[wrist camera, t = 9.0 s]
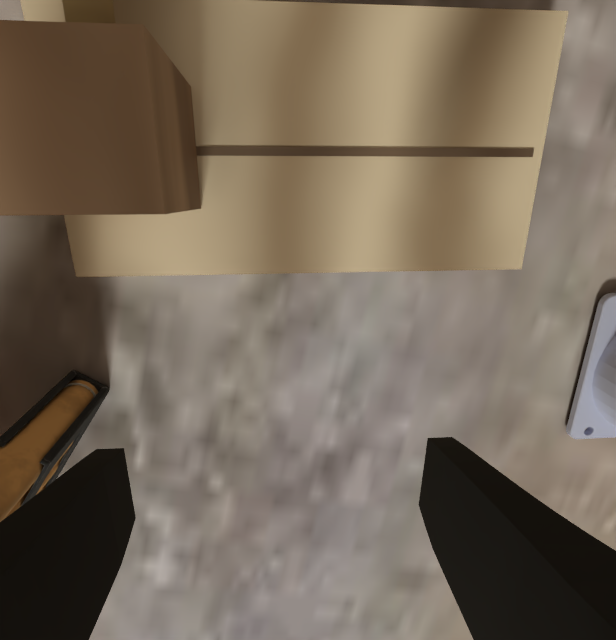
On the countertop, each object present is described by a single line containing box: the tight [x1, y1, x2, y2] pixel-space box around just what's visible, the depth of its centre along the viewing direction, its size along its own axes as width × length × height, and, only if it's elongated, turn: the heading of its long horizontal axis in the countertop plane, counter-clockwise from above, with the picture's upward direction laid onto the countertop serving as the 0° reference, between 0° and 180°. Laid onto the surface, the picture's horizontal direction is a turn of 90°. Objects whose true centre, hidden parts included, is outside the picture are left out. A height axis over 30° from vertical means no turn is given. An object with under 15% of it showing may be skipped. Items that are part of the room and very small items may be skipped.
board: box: [20, 0, 568, 277], centre depth 15 cm, size 18×9×2 cm, turn 90°
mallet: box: [0, 0, 201, 215], centre depth 11 cm, size 4×9×5 cm, turn 0°
